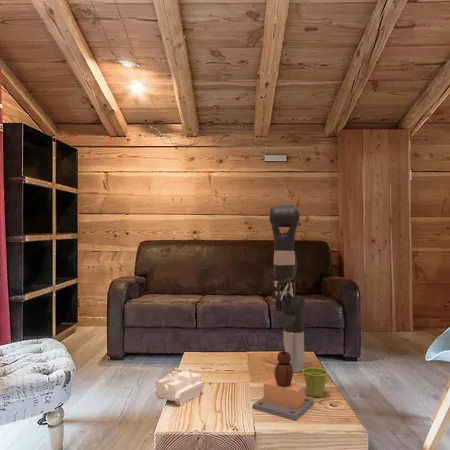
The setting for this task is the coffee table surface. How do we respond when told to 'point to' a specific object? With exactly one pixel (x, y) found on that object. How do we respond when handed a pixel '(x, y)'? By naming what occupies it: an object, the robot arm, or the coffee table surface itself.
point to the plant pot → (315, 381)
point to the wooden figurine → (283, 369)
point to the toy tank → (179, 386)
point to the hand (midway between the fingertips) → (284, 309)
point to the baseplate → (283, 408)
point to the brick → (284, 394)
